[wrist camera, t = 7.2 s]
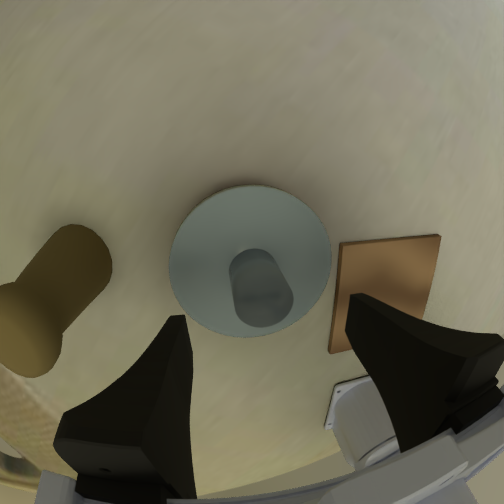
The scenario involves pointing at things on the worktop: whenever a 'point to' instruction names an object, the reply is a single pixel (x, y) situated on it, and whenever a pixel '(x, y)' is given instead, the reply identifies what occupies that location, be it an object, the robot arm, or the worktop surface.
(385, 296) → the board
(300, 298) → the lid
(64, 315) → the cork
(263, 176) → the worktop surface
